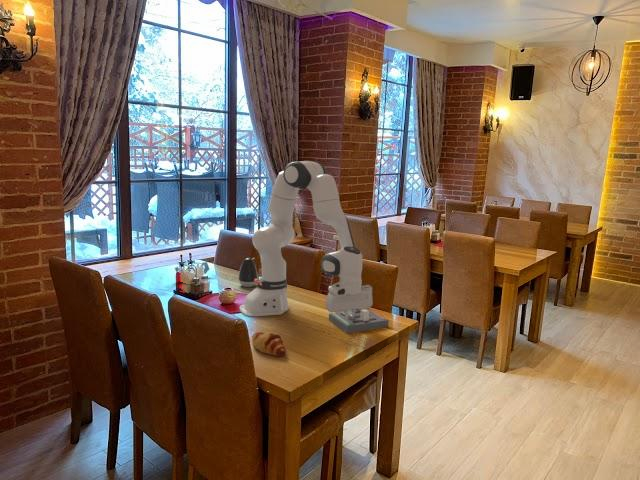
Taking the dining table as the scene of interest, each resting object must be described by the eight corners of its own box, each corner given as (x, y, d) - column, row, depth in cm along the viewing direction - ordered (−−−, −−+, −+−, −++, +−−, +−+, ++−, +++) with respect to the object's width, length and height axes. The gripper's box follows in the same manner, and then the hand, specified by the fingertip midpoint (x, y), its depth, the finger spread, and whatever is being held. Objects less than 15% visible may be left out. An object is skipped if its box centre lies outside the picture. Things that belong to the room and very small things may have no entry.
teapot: (202, 284, 254) (201, 264, 252) (174, 282, 255) (173, 263, 253) (210, 276, 269) (209, 257, 267) (183, 275, 270) (183, 256, 268)
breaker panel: (346, 333, 193) (347, 326, 193) (328, 320, 207) (329, 313, 207) (388, 326, 202) (388, 319, 201) (368, 314, 216) (368, 307, 215)
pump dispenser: (262, 285, 255) (262, 257, 252) (249, 289, 247) (249, 261, 244) (247, 281, 260) (247, 254, 258) (234, 286, 252) (234, 258, 249)
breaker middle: (349, 318, 200) (349, 309, 200) (346, 316, 203) (346, 307, 202) (354, 317, 201) (354, 308, 201) (351, 315, 204) (351, 306, 203)
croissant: (247, 349, 184) (238, 334, 180) (266, 332, 189) (258, 317, 185) (278, 368, 168) (269, 352, 164) (298, 350, 173) (290, 333, 169)
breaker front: (363, 321, 198) (364, 312, 197) (360, 319, 200) (360, 309, 199) (368, 320, 199) (369, 311, 198) (365, 318, 201) (365, 309, 200)
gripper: (368, 282, 200) (366, 313, 203) (324, 287, 192) (323, 320, 194) (376, 286, 195) (374, 318, 198) (331, 291, 186) (330, 325, 189)
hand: (349, 319), depth 196 cm, fingers closed
